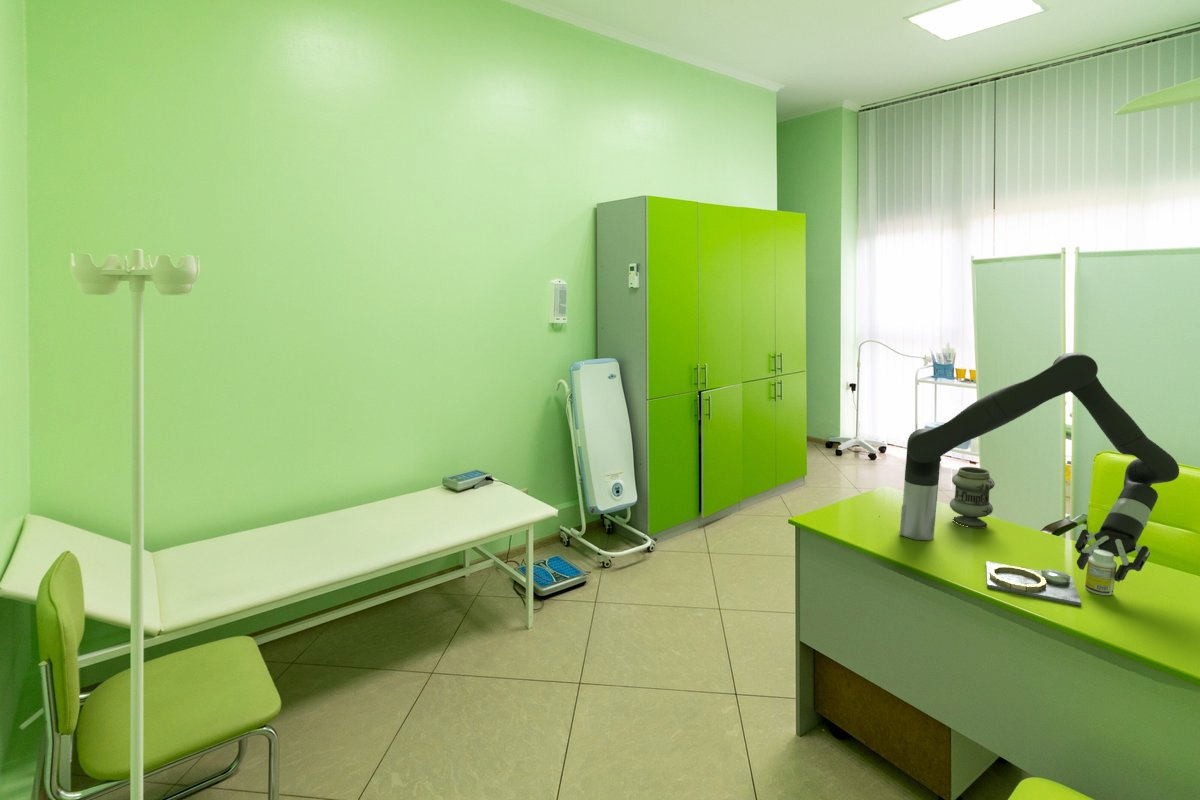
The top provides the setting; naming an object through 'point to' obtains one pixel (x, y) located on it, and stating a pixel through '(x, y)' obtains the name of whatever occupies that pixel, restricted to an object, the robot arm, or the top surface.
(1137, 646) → the top surface
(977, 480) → the apothecary jar
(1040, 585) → the carrier plate
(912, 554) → the top surface
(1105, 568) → the supplement bottle
